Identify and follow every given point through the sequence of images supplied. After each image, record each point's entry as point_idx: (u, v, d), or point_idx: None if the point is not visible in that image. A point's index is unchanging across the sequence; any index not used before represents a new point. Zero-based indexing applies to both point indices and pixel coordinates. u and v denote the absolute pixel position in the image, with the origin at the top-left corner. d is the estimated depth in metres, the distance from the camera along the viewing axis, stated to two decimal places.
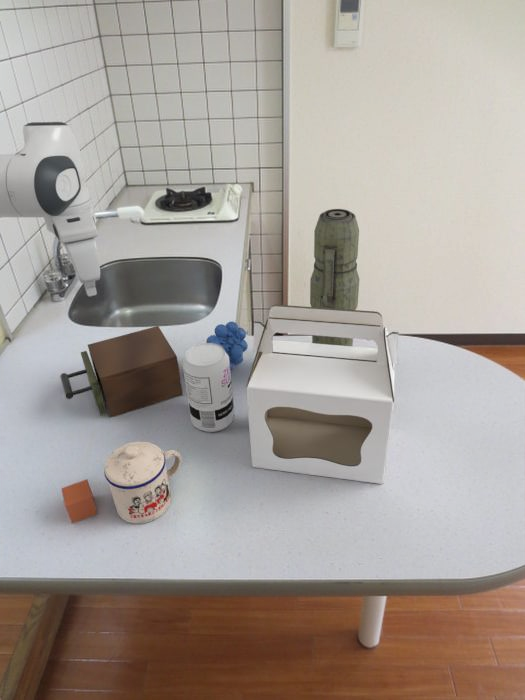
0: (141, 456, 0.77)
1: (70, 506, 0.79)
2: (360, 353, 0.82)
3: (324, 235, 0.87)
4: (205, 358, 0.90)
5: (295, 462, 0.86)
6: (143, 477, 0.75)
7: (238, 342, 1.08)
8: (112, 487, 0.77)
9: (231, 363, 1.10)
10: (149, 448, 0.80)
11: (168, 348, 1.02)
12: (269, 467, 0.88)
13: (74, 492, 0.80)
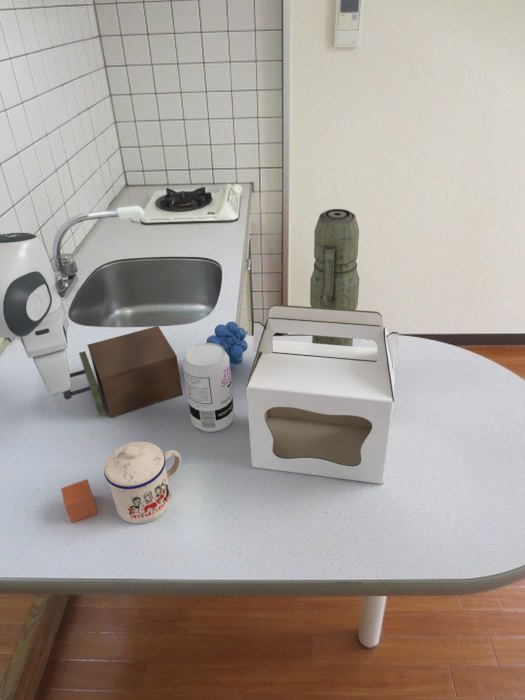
0: (141, 456, 0.77)
1: (70, 506, 0.79)
2: (360, 353, 0.82)
3: (324, 235, 0.87)
4: (205, 358, 0.90)
5: (295, 462, 0.86)
6: (143, 477, 0.75)
7: (238, 342, 1.08)
8: (112, 487, 0.77)
9: (231, 363, 1.10)
10: (149, 448, 0.80)
11: (168, 348, 1.02)
12: (269, 467, 0.88)
13: (74, 492, 0.80)
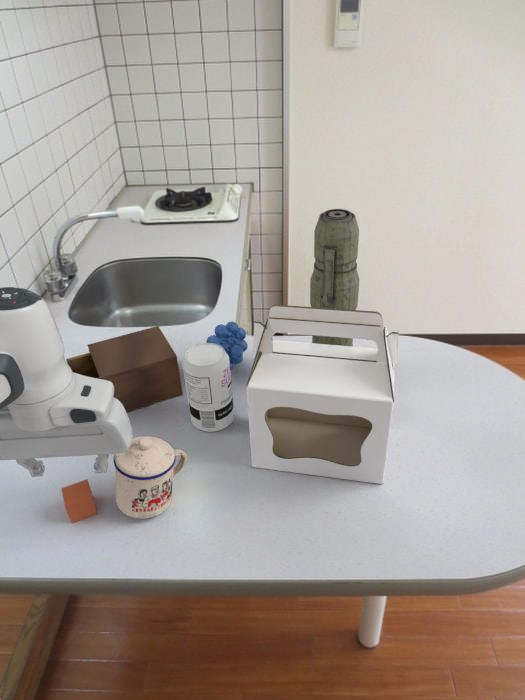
0: (154, 449, 0.78)
1: (70, 506, 0.79)
2: (360, 353, 0.82)
3: (324, 235, 0.87)
4: (205, 358, 0.90)
5: (295, 462, 0.86)
6: (155, 470, 0.76)
7: (238, 342, 1.08)
8: (120, 477, 0.77)
9: (231, 363, 1.10)
10: (160, 443, 0.80)
11: (168, 348, 1.02)
12: (269, 467, 0.88)
13: (74, 492, 0.80)
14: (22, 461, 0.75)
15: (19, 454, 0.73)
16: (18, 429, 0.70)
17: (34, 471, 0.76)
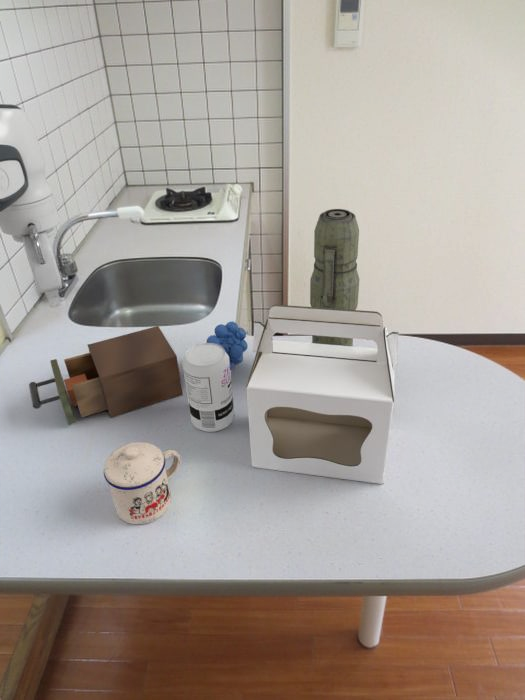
0: (141, 457, 0.77)
1: (71, 391, 0.99)
2: (360, 353, 0.82)
3: (324, 235, 0.87)
4: (205, 358, 0.90)
5: (295, 462, 0.86)
6: (144, 477, 0.75)
7: (238, 342, 1.08)
8: (112, 488, 0.77)
9: (231, 363, 1.10)
10: (148, 448, 0.80)
11: (168, 348, 1.02)
12: (269, 467, 0.88)
13: (74, 382, 1.01)
14: None
15: None
16: None
17: (58, 296, 0.86)
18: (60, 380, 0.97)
